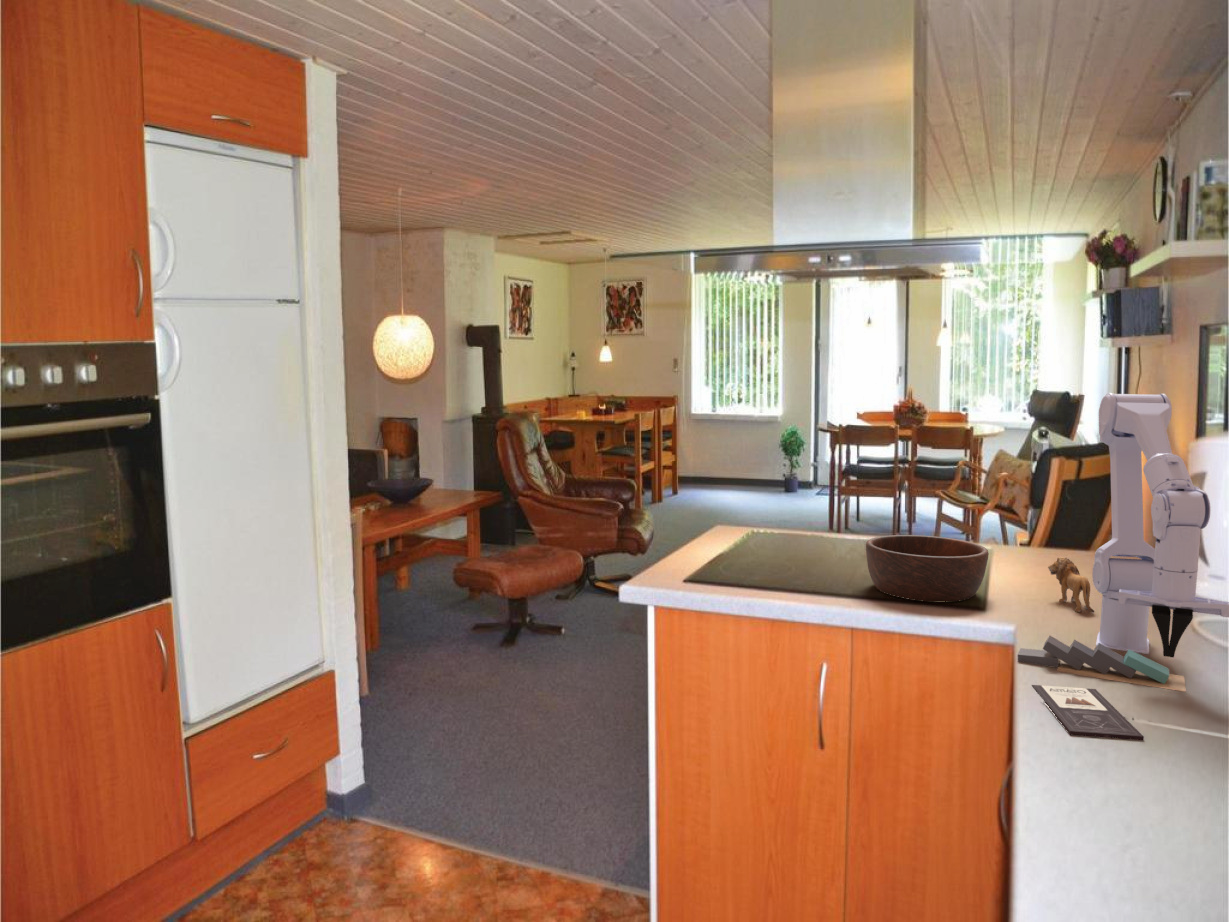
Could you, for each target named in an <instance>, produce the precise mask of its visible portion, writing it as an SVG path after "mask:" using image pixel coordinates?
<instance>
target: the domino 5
mask: <svg viewBox="0 0 1229 922" xmlns="http://www.w3.org/2000/svg"><path fill="white" fill-rule="evenodd" d="M1123 657H1124V664H1125V665H1127V666H1129V667H1131V668H1133V669H1135V670H1137V671H1139V672H1141V673H1143V674H1145V675H1147V676H1149V677H1151V678H1153V679H1155V680H1157V681H1159V682H1161V683H1163V684H1165V683H1166V681H1167V679H1168V677H1169V674H1170V669H1169V668H1168V667H1166V666H1164V665H1162V664H1160V663H1158V662H1156V661H1154V660H1152V659H1150V658H1148V657H1145V656H1144V655H1142V654H1141V653H1136V652H1134V651H1132V650H1130V649H1129V650H1128V651H1126V653H1125V655H1124V656H1123Z"/></svg>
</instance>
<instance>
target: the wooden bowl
mask: <svg viewBox="0 0 1229 922" xmlns="http://www.w3.org/2000/svg"><path fill="white" fill-rule="evenodd" d="M865 553H866V563H867V564H866V565H867V569H868V573H869V577H870V579H871V580H872V583H873V585H874V586H875V588H876V589H877V590H878V589H879V590H881V591H883V592H885V593H888V594H891V595H895V596H899V597H904V598H909V599H915V600H923V601H945V602H944V603H947V602H946V601H958V602H960V601H959V600H964V599H967V600H969V599H971V598H972V597H974V596H975V594H977V592H978V591H979V589H980V587H981V586H982V583H983V581H984V577H985V574H986V570H987V566H988V561H989V556H990V555H989V554H990V553H989V549H987V548H986V547H984V546H983V545H981V544H978V543H975V542H972V541H968V540H963V539H956V538H953V537H952V538H950V537H944V536H934V535H923V534H922V535H920V534H916V535H915V534H896V535H895V534H894V535H882V536H881V535H880V536H877V537H872V538H870V539H868V540H867V541H866V542H865ZM879 590H878V591H879ZM881 591H880V592H881ZM883 592H882V593H883ZM885 593H884V594H885ZM968 598H969V599H968ZM923 601H922V602H923ZM964 601H965V600H964Z"/></svg>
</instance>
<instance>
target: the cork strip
mask: <svg viewBox="0 0 1229 922" xmlns="http://www.w3.org/2000/svg"><path fill="white" fill-rule="evenodd" d="M1056 672H1060V673H1064V674H1065V673H1066V674H1070V675H1071V674H1072V675H1079V676H1085V677H1091V678H1098V679H1103V680H1109V681H1110V680H1111V681H1115V682H1122V683H1127V684H1128V683H1129V684H1134V685H1139V686H1146V687H1147V686H1148V687H1153V688H1161V689H1166V690H1172V691H1178V692H1183V693H1184V692H1187V690H1186V683H1185V676H1184V675H1178V674H1174V673H1173V674H1172V673H1169V677H1168V679H1167V681H1166V683H1165V684H1163V683H1161V682H1159V681H1157V680H1155V679H1153V678H1151V677H1149V676H1147V675H1145V674H1143V673H1141V672H1139V671H1137V670H1136V672H1135V674H1134V675H1133V677H1132V678H1131V679H1130V678H1128V677H1127V676H1125V675H1123V674H1121V673H1120V672H1118V671H1116V670H1115V669H1113V668H1111V667H1110V669H1109V670H1108V672H1107V673H1106V675H1105V674H1103V673H1101V672H1099V671H1098V670H1096V669H1094V668H1092V667H1091V666H1089V665H1087V664H1085V663H1084V664H1083V665H1082V667H1081V668H1080V670H1079V671H1078V670H1077V669H1075V668H1073V667H1072V666H1070V665H1068V664H1067V663H1065V662H1064V661H1062V660H1060V664H1059V667H1057V670H1056Z"/></svg>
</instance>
